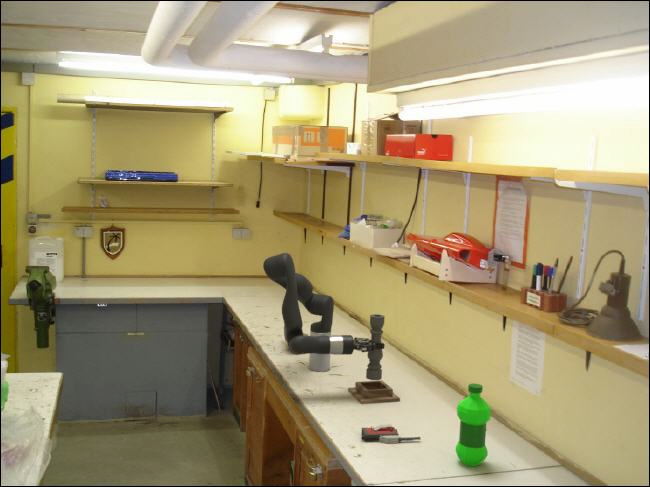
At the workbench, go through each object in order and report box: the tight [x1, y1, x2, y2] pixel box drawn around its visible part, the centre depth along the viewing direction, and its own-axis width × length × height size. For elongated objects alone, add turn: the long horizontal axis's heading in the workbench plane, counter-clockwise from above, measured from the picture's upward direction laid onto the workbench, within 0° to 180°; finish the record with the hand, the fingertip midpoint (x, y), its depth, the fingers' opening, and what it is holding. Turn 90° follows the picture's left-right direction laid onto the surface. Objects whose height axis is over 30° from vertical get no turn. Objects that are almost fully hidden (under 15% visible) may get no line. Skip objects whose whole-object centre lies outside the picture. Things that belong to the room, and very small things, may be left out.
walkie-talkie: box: [360, 424, 422, 444], centre depth 247 cm, size 9×4×20 cm
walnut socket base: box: [347, 379, 401, 405], centre depth 290 cm, size 16×16×4 cm
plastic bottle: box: [455, 383, 492, 467], centre depth 228 cm, size 10×10×25 cm
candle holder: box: [365, 313, 385, 381], centre depth 287 cm, size 6×6×25 cm
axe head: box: [283, 324, 309, 351], centre depth 355 cm, size 27×10×10 cm, turn 20°
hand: (382, 344), depth 288 cm, fingers closed on candle holder, 3 cm apart
